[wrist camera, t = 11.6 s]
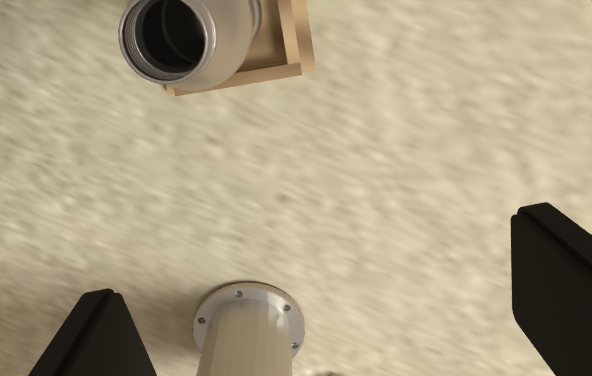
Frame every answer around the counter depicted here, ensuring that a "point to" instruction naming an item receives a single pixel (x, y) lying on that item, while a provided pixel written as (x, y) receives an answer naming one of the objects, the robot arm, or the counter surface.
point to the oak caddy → (273, 47)
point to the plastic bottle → (188, 39)
